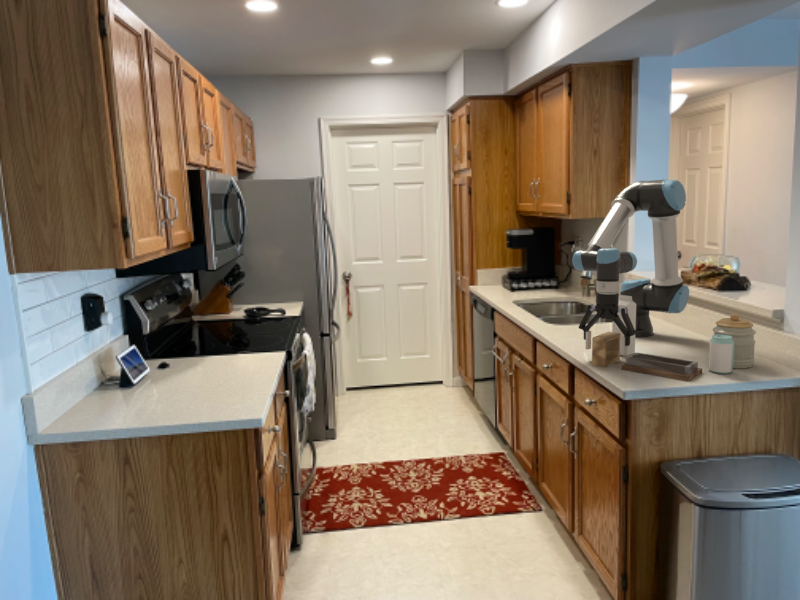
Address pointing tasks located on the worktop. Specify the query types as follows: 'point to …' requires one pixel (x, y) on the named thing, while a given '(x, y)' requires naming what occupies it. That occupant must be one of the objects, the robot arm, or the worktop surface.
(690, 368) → the wooden tray
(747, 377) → the worktop surface
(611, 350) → the tan wooden block
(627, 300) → the milk
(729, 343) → the can
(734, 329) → the jar
